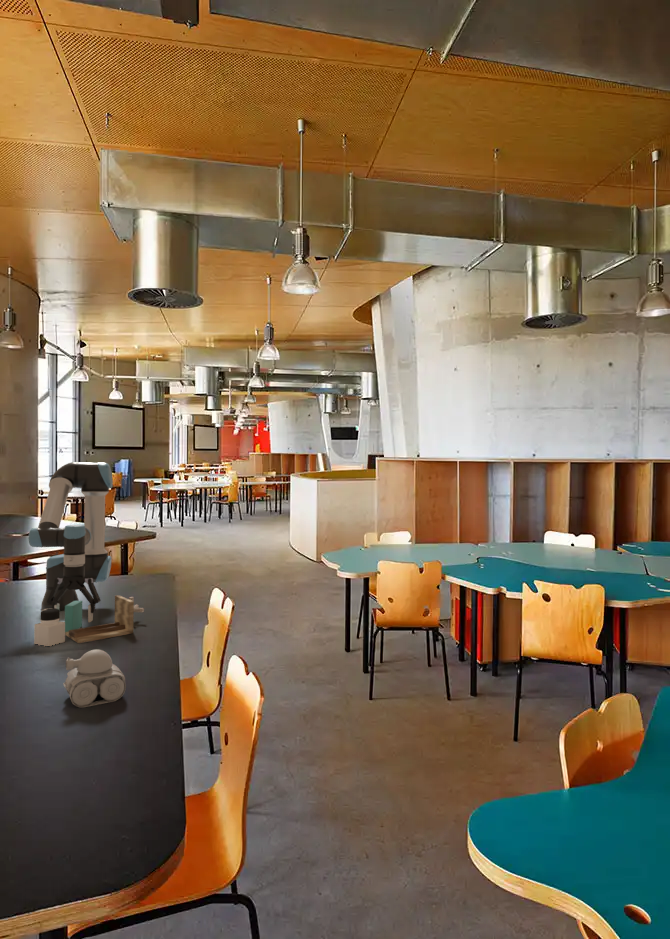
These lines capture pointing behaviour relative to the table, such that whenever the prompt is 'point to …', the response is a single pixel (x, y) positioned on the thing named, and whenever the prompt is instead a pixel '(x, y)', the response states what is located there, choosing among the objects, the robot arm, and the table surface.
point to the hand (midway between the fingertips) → (73, 621)
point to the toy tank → (93, 679)
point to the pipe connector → (136, 606)
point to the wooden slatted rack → (120, 627)
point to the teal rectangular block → (73, 616)
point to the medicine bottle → (49, 628)
